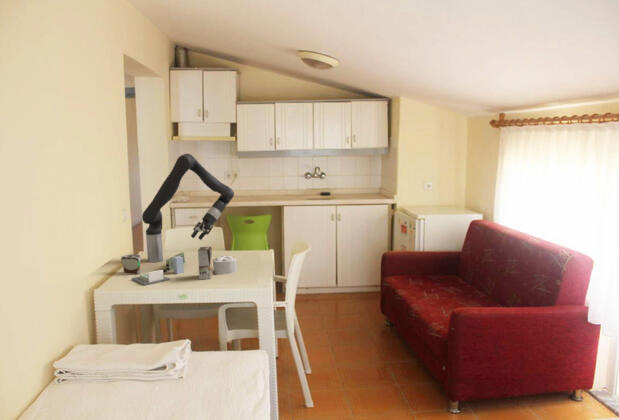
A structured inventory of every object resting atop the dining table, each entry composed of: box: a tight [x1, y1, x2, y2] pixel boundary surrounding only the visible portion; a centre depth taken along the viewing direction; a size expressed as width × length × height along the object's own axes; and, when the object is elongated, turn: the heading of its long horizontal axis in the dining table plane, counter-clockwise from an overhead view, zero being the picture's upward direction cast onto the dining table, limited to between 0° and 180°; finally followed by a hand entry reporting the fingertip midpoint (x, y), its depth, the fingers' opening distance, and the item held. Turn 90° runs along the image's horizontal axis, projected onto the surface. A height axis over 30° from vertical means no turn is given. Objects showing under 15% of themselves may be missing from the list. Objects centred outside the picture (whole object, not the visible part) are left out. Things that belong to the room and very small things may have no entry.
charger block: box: [172, 256, 185, 275], centre depth 275 cm, size 4×4×9 cm
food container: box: [120, 254, 142, 275], centre depth 277 cm, size 12×6×10 cm, turn 71°
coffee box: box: [197, 246, 214, 280], centre depth 264 cm, size 9×6×16 cm
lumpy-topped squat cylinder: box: [212, 255, 238, 275], centre depth 276 cm, size 10×13×9 cm
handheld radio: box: [162, 252, 186, 273], centre depth 288 cm, size 7×3×25 cm
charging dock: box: [131, 269, 171, 286], centre depth 261 cm, size 16×14×6 cm
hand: (195, 238), depth 281 cm, fingers open, 8 cm apart
